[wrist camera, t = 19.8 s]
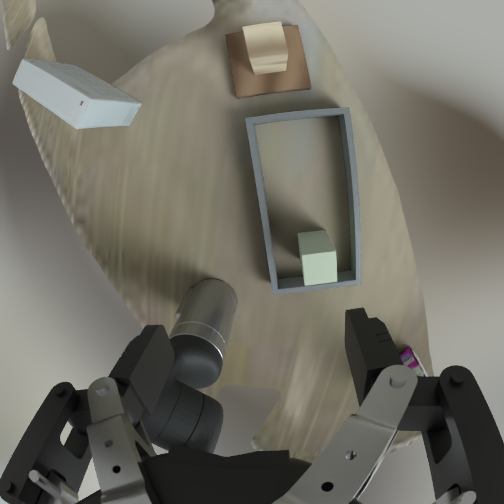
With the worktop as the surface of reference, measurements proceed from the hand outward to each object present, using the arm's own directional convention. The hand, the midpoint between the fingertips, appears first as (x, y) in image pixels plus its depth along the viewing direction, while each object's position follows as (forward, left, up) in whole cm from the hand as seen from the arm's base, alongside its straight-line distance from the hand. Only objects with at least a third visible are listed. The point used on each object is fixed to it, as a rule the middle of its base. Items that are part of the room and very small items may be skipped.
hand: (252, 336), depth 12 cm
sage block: (+6, -11, -38) cm, 40 cm away
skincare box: (-29, +25, -38) cm, 54 cm away
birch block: (+3, +22, -37) cm, 43 cm away
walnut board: (+3, +22, -38) cm, 44 cm away
